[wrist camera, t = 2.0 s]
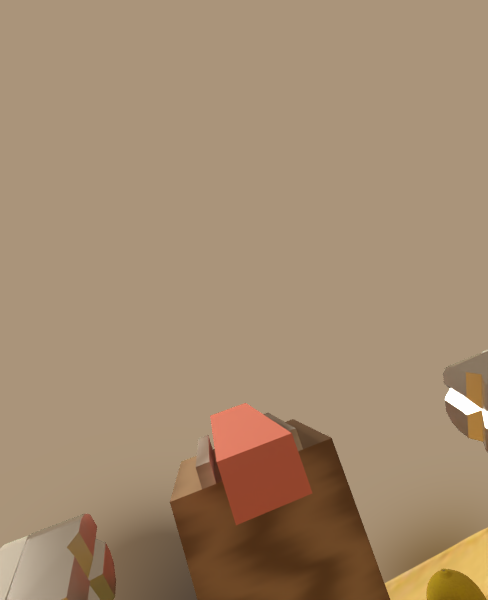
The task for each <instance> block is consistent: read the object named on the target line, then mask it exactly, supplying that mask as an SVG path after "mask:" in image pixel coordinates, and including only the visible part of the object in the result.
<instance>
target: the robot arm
mask: <svg viewBox="0 0 488 600" xmlns="http://www.w3.org/2000/svg"><path fill="white" fill-rule="evenodd" d="M443 376H444V384H445V385H446V386H448V387H449V388H450V390H449V392H448V394H447V396H446V398H445V403H446V412H447V413H448V415H449V417H450V419H451V421H452V423H453V424H454V425H455V426H456V427H457V429H458V430H459V431H460V432H462V433H463V434H464V435H466V436H467V437H468V438H471V439H475V440H479V441H482V442H483V443H484V446H485V449H486V451H487V452H488V350H486V351H483V352H482V353H480V354H477V355H475V356H472V357H470V358H468V359H465V360H463V361H460V362H458V363H455V364H453V365H450V366H448V367H446V369H445V371H444V373H443ZM96 530H97V526H96V524H95V522H94V520H93V519H92V517H91V515H89V514H82V515H80V516H77V517H74V518H72V519H69V520H66V521H64V522H61V523H59V524H56V525H53V526H51V527H48V528H45V529H43V530H40V531H37V532H35V533H32V534H31V535H29V536H26V537H23V538H21V539H18V540H15V541H13V542H10V543H7V544H5V545H3V547H2V548H1V549H0V600H113V599H114V598H115V588H116V587H115V586H116V578H115V569H114V563H113V559H112V556H111V553H110V550H109V548H108V546H107V544H106V543H105V542H103V541H100V540H98V539H96Z"/></svg>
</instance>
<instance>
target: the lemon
mask: <svg viewBox="0 0 488 600" xmlns="http://www.w3.org/2000/svg"><path fill="white" fill-rule="evenodd" d="M427 600H486V598H485V596H484V595H483V593H482V592H481V590H480V589H479V587H478V586H477V585H476V584H475V583H474V582H473V581H472V580H471V579H470V578H469V577H467V576H466V575H464V574H462V573H460V572H458V571H455V570H450V569H442V570H441V571H438V572H437V573H435V574H434V575H433V576H432V577H431V579H430V581H429V583H428V586H427Z"/></svg>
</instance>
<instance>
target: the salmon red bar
mask: <svg viewBox="0 0 488 600" xmlns="http://www.w3.org/2000/svg"><path fill="white" fill-rule="evenodd" d="M210 417H211V424H212V432H213V439H214V447H215V454H216V462H217V465H218V468H219V472H220V475H221V478H222V481H223V485H224V488H225V491H226V494H227V498H228V501H229V504H230V507H231V511H232V514H233V517H234V520H235V523H236V525H238V524H241V523H243V522H245V521H248V520H250V519H252V518H255V517H257V516H260V515H262V514H264V513H267V512H269V511H272V510H274V509H276V508H279V507H281V506H284V505H286V504H288V503H291V502H293V501H295V500H298V499H300V498H303V497H305V496H307V495H310V494H312V490H311V487H310V484H309V481H308V478H307V476H306V473H305V470H304V467H303V464H302V461H301V458H300V455H299V452H298V450H297V447H296V444H295V441H294V438H293V435H292V433H291V432H289V431H288V430H286V429H285V428H283V427H282V426H280V425H279V424H277V423H276V422H274V421H273V420H271V419H269V418H268V417H266V416H265V415H263V414H262V413H260V412H259V411H257V410H256V409H254V408H253V407H251V406H249V405H248V404H246V403H244V404H241V405H238V406H236V407H233V408H230V409H227V410H225V411H222V412H220V413H216V414H214V415H211V416H210Z"/></svg>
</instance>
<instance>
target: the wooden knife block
mask: <svg viewBox="0 0 488 600" xmlns="http://www.w3.org/2000/svg"><path fill="white" fill-rule="evenodd" d="M263 415H265V416H266V417H268V418H269V419H271V420H273V421H274V422H276V423H277V424H279V425H280V426H282V427H283V428H285V429H286V430H288V431H289V432H291V433H292V435H293V438H294V441H295V444H296V447H297V450H298V452H299V455H300V458H301V461H302V464H303V467H304V470H305V473H306V476H307V478H308V481H309V484H310V487H311V490H312V494H310V495H307V496H305V497H303V498H300V499H298V500H295V501H293V502H291V503H288V504H286V505H284V506H281V507H279V508H276V509H274V510H272V511H269V512H267V513H264V514H262V515H260V516H257V517H255V518H252V519H250V520H248V521H245V522H243V523H241V524H238V525H236V523H235V520H234V517H233V514H232V511H231V507H230V504H229V501H228V498H227V494H226V491H225V488H224V485H223V481H222V478H221V475H220V472H219V468H218V465H217V462H216V454H215V449H212V446H211V443H210V439H209V436H208V435H207V436H204V437H201V438H199V440H198V449H197V456H195V457H192V458H190V459H187V460H185V461H182V462H181V465H180V468H179V472H178V475H177V479H176V482H175V486H174V489H173V493H172V496H171V500H170V504H171V507H172V511H173V515H174V518H175V521H176V525H177V529H178V532H179V536H180V539H181V542H182V546H183V550H184V553H185V556H186V560H187V564H188V567H189V571H190V574H191V578H192V581H193V585H194V588H195V592H196V596H197V599H198V600H390V598H389V595H388V592H387V590H386V587H385V584H384V582H383V579H382V576H381V573H380V571H379V568H378V565H377V562H376V559H375V556H374V554H373V551H372V548H371V545H370V543H369V540H368V537H367V534H366V532H365V529H364V526H363V523H362V521H361V518H360V515H359V512H358V510H357V507H356V505H355V501H354V499H353V496H352V493H351V490H350V487H349V485H348V482H347V479H346V476H345V474H344V471H343V468H342V466H341V463H340V460H339V457H338V454H337V452H336V449H335V446H334V444H333V441H332V438H331V437H328V436H326V435H324V434H322V433H320V432H318V431H316V430H314V429H312V428H310V427H308V426H306V425H304V424H302V423H299V422H298V421H295V420H290V421H287V422H284V421H282V420H280V419H278V418H277V417H275V416H273V415H271V414H269V413H266V414H263Z"/></svg>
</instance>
